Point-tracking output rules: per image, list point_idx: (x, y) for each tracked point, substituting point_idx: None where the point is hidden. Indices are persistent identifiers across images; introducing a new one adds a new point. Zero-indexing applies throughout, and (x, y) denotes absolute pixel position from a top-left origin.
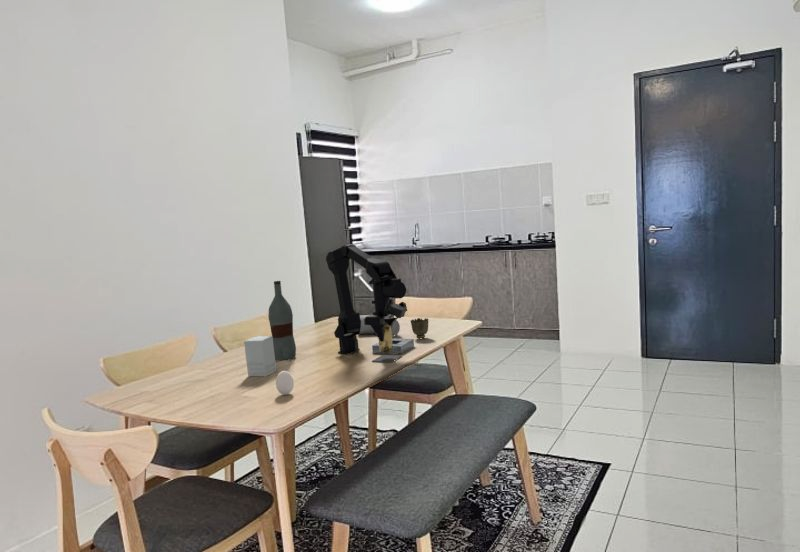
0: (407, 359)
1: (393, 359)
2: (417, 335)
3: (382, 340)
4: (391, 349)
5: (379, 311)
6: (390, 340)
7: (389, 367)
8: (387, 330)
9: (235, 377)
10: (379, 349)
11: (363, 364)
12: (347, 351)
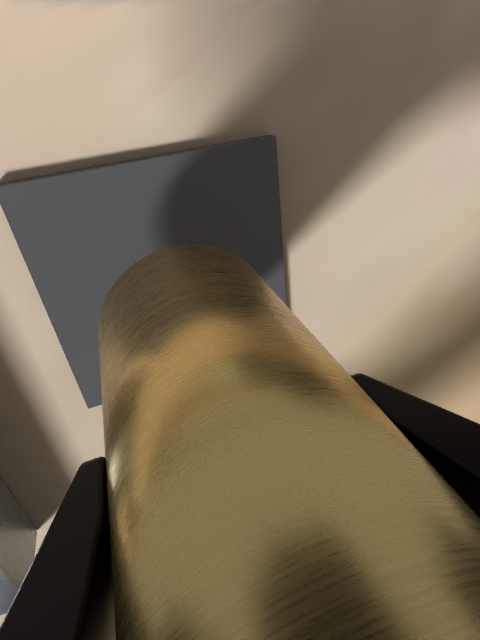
0: (56, 10)
1: (188, 182)
2: None
3: (375, 384)
4: (194, 254)
5: None
6: (247, 319)
7: (431, 47)
8: (447, 503)
9: None
10: (1, 521)
11: (356, 351)
12: None
